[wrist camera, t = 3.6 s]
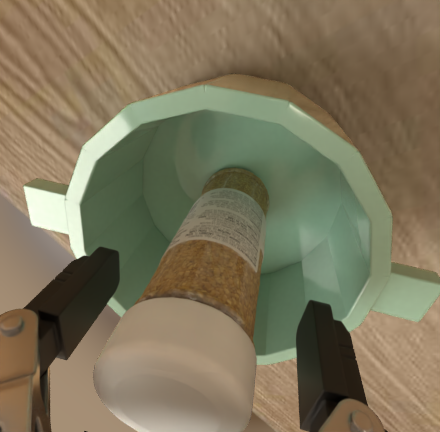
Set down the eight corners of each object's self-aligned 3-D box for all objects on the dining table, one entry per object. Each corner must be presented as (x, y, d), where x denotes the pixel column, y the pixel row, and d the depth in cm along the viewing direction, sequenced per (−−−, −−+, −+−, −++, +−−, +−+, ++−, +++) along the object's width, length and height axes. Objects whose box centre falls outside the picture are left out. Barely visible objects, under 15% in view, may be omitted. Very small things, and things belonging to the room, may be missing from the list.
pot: (90, 45, 17) (-25, 39, 10) (450, 113, 15) (570, 155, 9) (102, 246, 24) (39, 314, 18) (345, 307, 22) (369, 405, 16)
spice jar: (241, 238, 21) (190, 468, 9) (189, 200, 20) (63, 398, 8) (285, 194, 19) (289, 425, 7) (228, 149, 18) (129, 324, 6)
